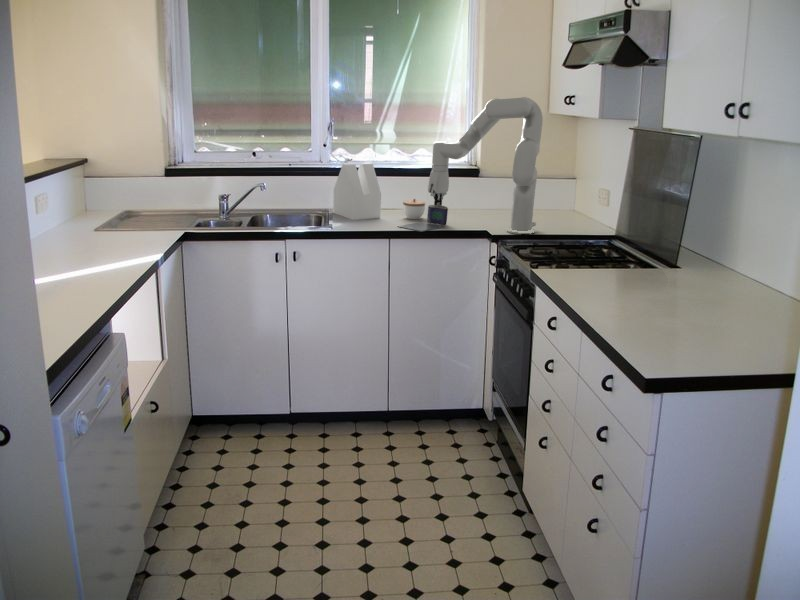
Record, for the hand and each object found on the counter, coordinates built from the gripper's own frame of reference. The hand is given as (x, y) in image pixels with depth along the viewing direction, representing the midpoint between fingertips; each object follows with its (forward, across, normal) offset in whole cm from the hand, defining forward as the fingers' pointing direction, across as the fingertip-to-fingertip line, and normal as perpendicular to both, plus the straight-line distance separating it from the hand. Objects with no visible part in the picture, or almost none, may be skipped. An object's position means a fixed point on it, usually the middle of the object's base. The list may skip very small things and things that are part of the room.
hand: (437, 207), depth 381 cm
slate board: (+8, +12, 0) cm, 14 cm away
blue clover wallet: (+7, 0, 0) cm, 7 cm away
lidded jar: (+8, -3, -17) cm, 19 cm away
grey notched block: (+8, +14, -39) cm, 42 cm away
